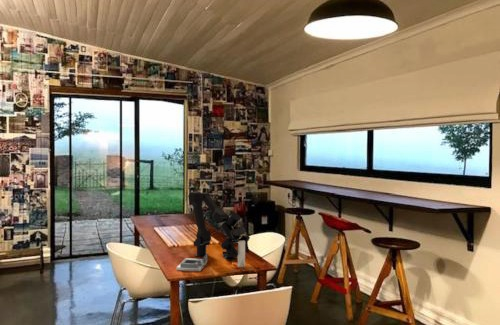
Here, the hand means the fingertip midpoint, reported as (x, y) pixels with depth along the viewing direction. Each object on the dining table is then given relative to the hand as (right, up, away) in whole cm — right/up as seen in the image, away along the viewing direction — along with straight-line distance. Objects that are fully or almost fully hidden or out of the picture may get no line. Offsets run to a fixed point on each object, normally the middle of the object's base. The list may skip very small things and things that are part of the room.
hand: (243, 254), depth 226 cm
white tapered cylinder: (-1, -7, +1) cm, 7 cm away
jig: (-28, -7, +1) cm, 29 cm away
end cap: (-8, -7, +19) cm, 22 cm away
